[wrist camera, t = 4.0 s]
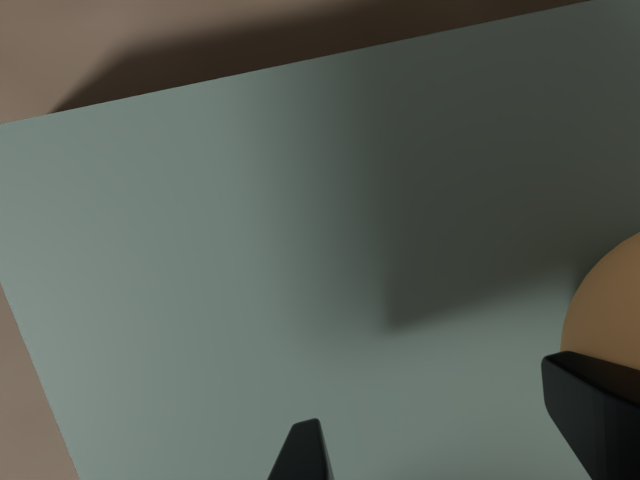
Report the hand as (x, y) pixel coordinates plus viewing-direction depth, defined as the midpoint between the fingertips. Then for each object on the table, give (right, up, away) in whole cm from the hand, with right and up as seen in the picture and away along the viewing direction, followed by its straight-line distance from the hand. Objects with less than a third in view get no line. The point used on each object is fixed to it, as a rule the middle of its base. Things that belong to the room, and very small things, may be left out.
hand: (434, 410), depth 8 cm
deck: (+4, +2, +5) cm, 7 cm away
